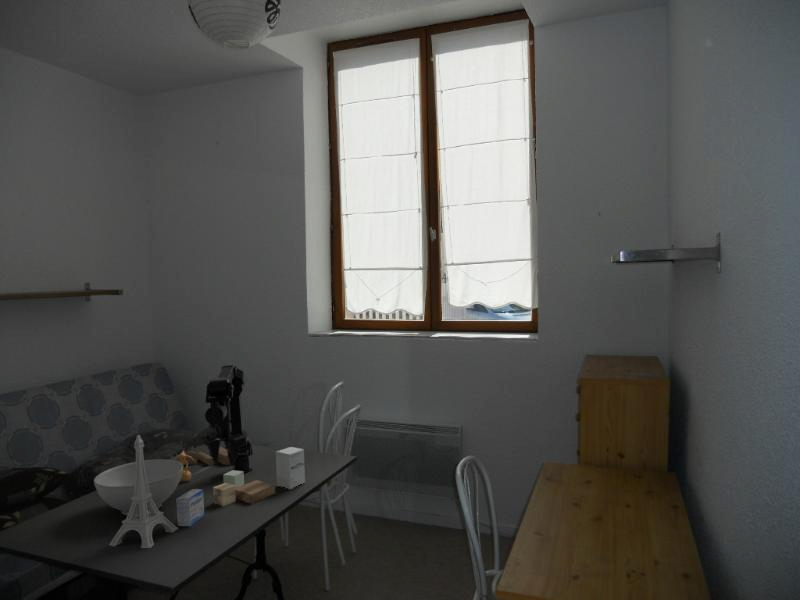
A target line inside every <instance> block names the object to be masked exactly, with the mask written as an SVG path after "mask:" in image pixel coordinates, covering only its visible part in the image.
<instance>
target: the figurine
mask: <svg viewBox="0 0 800 600" xmlns="http://www.w3.org/2000/svg"><path fill="white" fill-rule="evenodd" d="M185 453H186V452H185V451H184V450H183V451H181V453H179V454H180V455H179V454H178V455H177V456H175V457H174V458H173V460H174V461H176V459H178V458H179V462H180V463H182V464H184V463H185V465H184V466H185V470H184V469H183V472H182V476H181V479H180V481H182V482H184V483H185V482H188V481H190V480H191V478H192V473H191V471H189V470H188V467H189V465H188V463H187V461H185V459H186V457H188V458H191V459H192V460H193V461H195V460H194V459H193V458H192V457H191V456H188V455H186V454H185ZM180 459H181V461H180ZM195 463H196V462H195Z"/></svg>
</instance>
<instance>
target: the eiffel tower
mask: <svg viewBox="0 0 800 600" xmlns="http://www.w3.org/2000/svg"><path fill="white" fill-rule="evenodd" d="M144 447H145V444H144V440H143V439H142V437H141V435H140V434H138V435H136V439H135V441H134V446H133V448H134V450H135V462H136V475H135V488H134V496H133V497H132V498H131V500H133V502H132V505H131V508H130V510H129V513H128V515H126V517H125V519H123V520H122V521H121V523H122V525H121V527H120V528H119V529H118V531H117V532H116V533H115V535H114V537H113V538H112V540H111V541H110V542H109V544H108V545H113V546H112V547H115V545H118V544H119V545H121V544H122V543H123V542H124V541H123V538H124V536H125V535H126V533H128V532H129V531H133V530H134V531H136V532H137V533H138V534H139V535H140V538H141V547H140V548H150V547H151V548H153V547H154V546H155V545H154V544H155V543H154V540H153V529H154V527H155V526H156V525H158V524H159V525H161V526H162V527H163V528H164V532H165V533H174V532H176V531H178V530H179V527H177V525H174V523H172V521H170V520H169V519H168V518H167V517H166V516H165V515H164V511H160V510H159V509H158V508H157V507H156V505H155V503H154V501H153V499H152V497H151V496H152V493H150V491H149V487H148V482H147V477H146V471H145V465H144V461H145V457H144ZM147 506H148V508H149V510H150V511H148V509H147ZM136 512H137V513H136ZM121 542H122V543H121ZM120 543H121V544H120ZM119 545H118V546H119ZM153 545H154V546H153ZM152 546H153V547H152ZM151 548H150V549H151Z"/></svg>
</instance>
